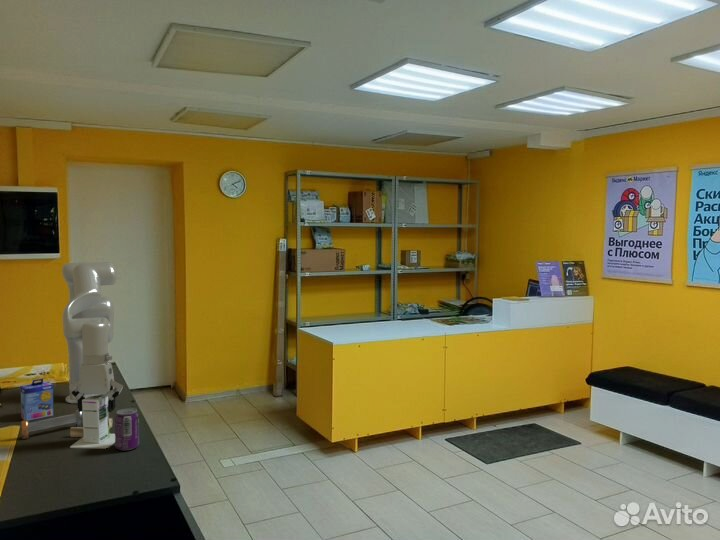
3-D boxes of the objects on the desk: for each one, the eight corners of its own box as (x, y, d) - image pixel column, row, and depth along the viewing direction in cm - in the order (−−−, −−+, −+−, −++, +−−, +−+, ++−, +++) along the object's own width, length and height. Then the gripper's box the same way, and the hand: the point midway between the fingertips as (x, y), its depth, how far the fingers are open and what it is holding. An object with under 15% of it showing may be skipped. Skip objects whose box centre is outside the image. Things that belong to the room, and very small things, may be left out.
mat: (88, 434, 194) (88, 433, 194) (123, 434, 194) (123, 433, 194) (69, 448, 182) (69, 446, 182) (107, 448, 182) (107, 447, 182)
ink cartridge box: (25, 422, 206) (23, 382, 205) (20, 418, 210) (18, 379, 209) (54, 415, 213) (53, 377, 212) (49, 412, 217) (48, 374, 216)
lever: (81, 424, 203) (81, 408, 203) (84, 426, 201) (83, 410, 201) (21, 437, 190) (20, 420, 190) (23, 439, 188) (22, 422, 188)
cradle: (86, 425, 203) (86, 417, 203) (113, 426, 203) (112, 417, 203) (70, 436, 192) (70, 428, 192) (98, 437, 192) (98, 428, 192)
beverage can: (144, 445, 185) (143, 409, 185) (128, 453, 179) (127, 415, 178) (126, 442, 188) (125, 406, 187) (110, 450, 181) (109, 413, 180)
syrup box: (99, 443, 185) (98, 399, 184) (82, 442, 186) (81, 398, 185) (109, 437, 191) (109, 394, 190) (93, 436, 192) (92, 393, 191)
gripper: (126, 357, 190) (127, 407, 191) (74, 356, 190) (76, 406, 191) (116, 362, 183) (118, 414, 184) (63, 361, 183) (64, 414, 184)
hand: (96, 410), depth 188 cm, fingers open, 9 cm apart
